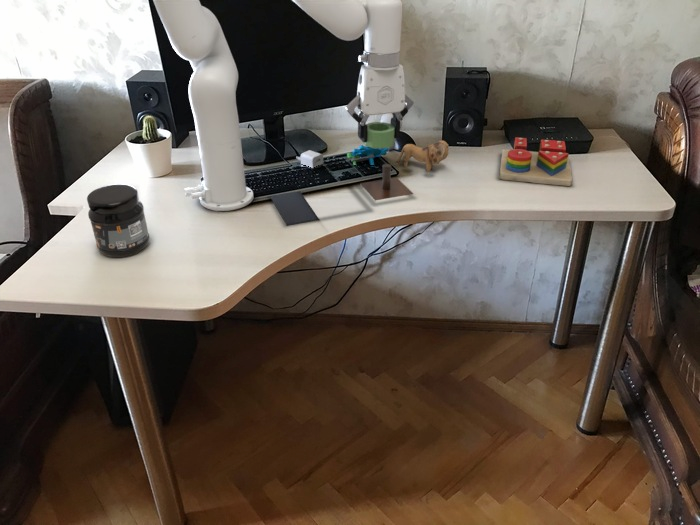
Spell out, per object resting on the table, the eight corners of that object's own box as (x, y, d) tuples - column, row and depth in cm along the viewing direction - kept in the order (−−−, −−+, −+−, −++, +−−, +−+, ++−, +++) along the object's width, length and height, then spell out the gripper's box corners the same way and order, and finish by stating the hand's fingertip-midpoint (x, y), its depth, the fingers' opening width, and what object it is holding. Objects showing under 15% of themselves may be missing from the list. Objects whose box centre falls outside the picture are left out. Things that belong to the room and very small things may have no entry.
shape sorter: (567, 160, 162) (571, 139, 158) (571, 186, 147) (576, 164, 144) (501, 154, 165) (504, 133, 162) (499, 179, 151) (502, 157, 148)
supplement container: (105, 234, 128) (92, 183, 122) (155, 232, 129) (145, 181, 122) (91, 260, 119) (76, 206, 113) (144, 258, 120) (133, 205, 113)
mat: (286, 225, 131) (286, 224, 131) (270, 197, 143) (270, 195, 143) (370, 210, 137) (370, 209, 137) (348, 184, 149) (348, 183, 149)
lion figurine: (449, 171, 156) (452, 138, 151) (443, 179, 151) (446, 145, 147) (396, 162, 161) (397, 130, 156) (389, 170, 156) (390, 137, 152)
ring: (370, 150, 134) (370, 134, 131) (358, 139, 139) (359, 123, 137) (398, 146, 136) (399, 130, 134) (386, 136, 141) (387, 120, 139)
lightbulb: (376, 147, 170) (377, 109, 164) (396, 145, 171) (397, 107, 166) (383, 155, 165) (384, 116, 159) (404, 152, 166) (406, 114, 161)
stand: (374, 204, 139) (375, 176, 136) (359, 187, 147) (359, 160, 144) (413, 198, 142) (415, 170, 139) (396, 181, 150) (397, 155, 146)
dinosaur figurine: (387, 152, 162) (388, 137, 152) (391, 172, 161) (392, 158, 151) (347, 159, 162) (345, 144, 152) (350, 179, 161) (349, 166, 151)
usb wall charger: (312, 172, 155) (312, 158, 153) (294, 165, 159) (293, 151, 157) (323, 167, 158) (322, 153, 156) (304, 161, 162) (303, 147, 160)
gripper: (349, 66, 122) (348, 148, 131) (426, 60, 127) (419, 139, 136) (337, 58, 128) (337, 137, 137) (411, 52, 133) (406, 129, 142)
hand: (378, 137), depth 137 cm, fingers closed on ring, 7 cm apart
